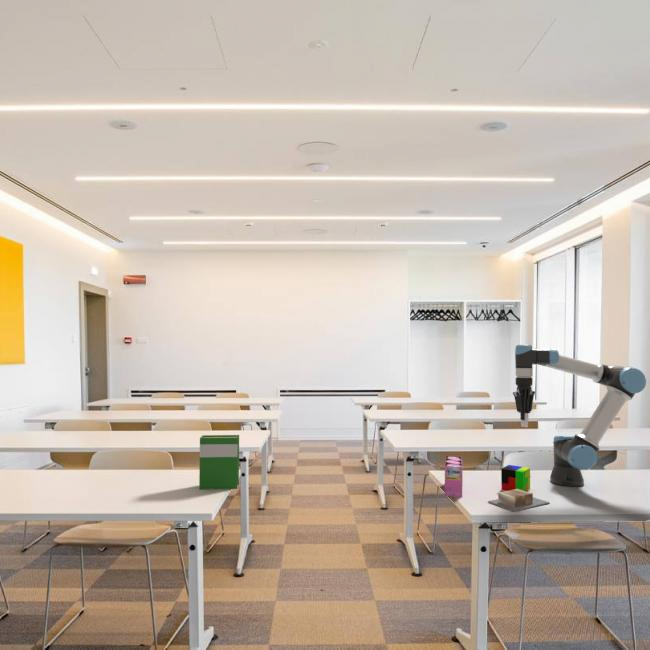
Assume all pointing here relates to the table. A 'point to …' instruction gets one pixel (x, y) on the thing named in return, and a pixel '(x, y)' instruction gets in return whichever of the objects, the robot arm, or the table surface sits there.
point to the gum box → (453, 476)
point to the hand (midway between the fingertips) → (524, 426)
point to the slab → (515, 497)
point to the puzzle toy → (515, 478)
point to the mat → (535, 503)
